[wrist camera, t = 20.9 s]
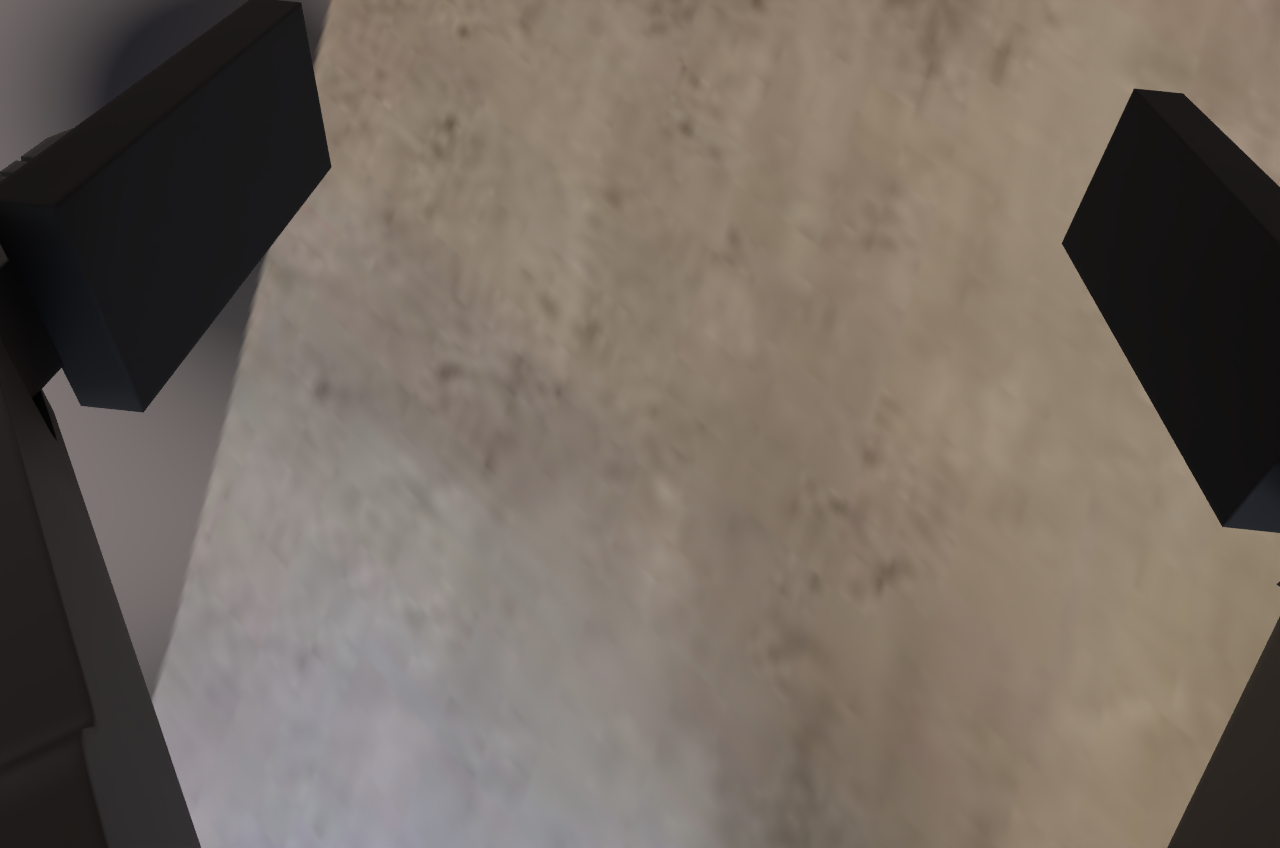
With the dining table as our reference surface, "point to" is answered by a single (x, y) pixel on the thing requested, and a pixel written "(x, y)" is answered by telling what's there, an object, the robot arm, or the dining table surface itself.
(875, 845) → the dining table surface
